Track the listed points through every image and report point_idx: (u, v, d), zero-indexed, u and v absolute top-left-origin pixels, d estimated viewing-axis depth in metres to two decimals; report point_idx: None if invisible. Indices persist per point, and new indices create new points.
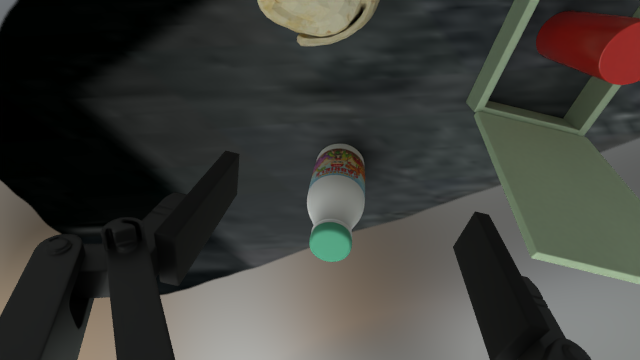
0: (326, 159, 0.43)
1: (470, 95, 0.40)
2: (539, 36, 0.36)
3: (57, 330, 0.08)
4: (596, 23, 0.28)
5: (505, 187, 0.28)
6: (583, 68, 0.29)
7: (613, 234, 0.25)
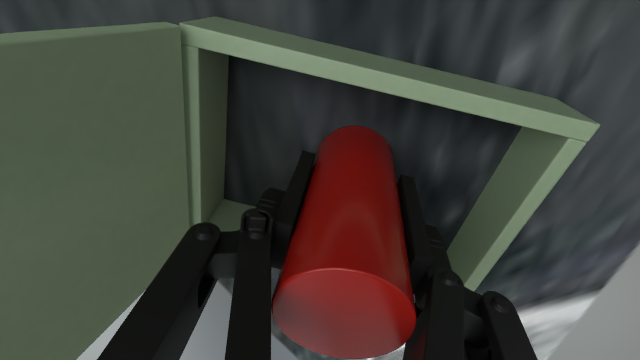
0: None
1: (230, 21, 0.17)
2: (355, 129, 0.19)
3: (185, 306, 0.09)
4: (395, 219, 0.13)
5: None
6: (303, 227, 0.12)
7: None
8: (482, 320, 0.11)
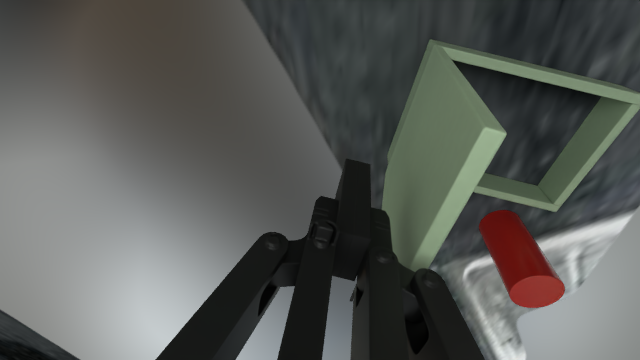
0: None
1: (441, 42, 0.31)
2: None
3: (247, 313, 0.10)
4: None
5: (460, 79, 0.16)
6: (515, 259, 0.34)
7: None
8: (412, 295, 0.12)
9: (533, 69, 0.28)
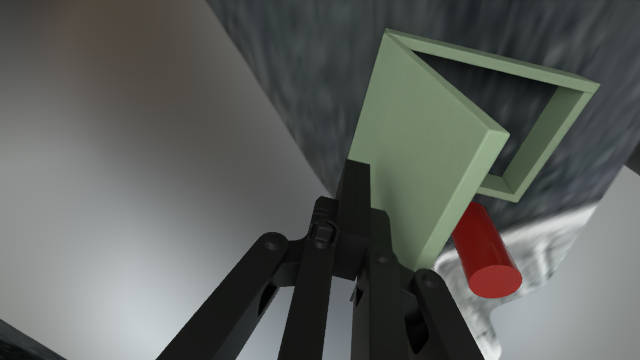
0: None
1: (396, 31, 0.31)
2: None
3: (247, 313, 0.10)
4: (505, 246, 0.35)
5: (432, 72, 0.16)
6: (474, 250, 0.34)
7: None
8: (412, 295, 0.12)
9: (484, 57, 0.28)
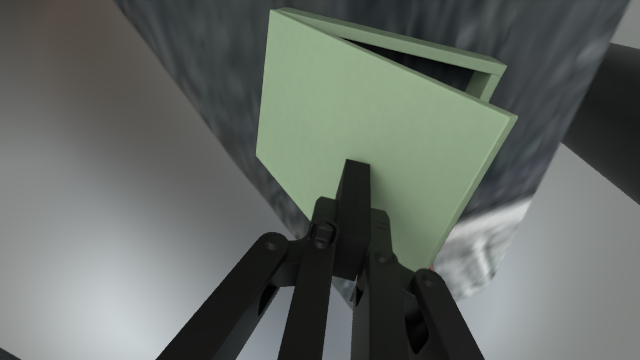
0: None
1: (296, 10, 0.28)
2: None
3: (247, 313, 0.10)
4: None
5: (385, 59, 0.17)
6: None
7: None
8: (412, 295, 0.12)
9: (381, 36, 0.25)
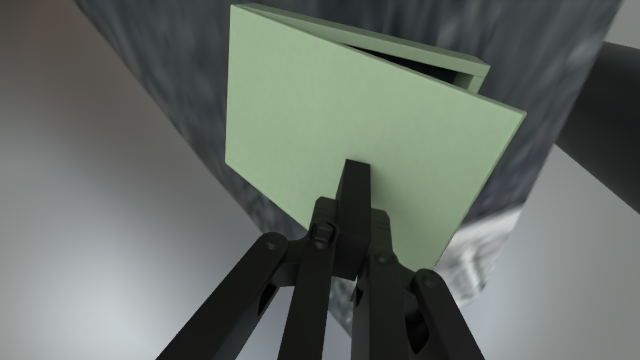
0: None
1: (264, 5, 0.26)
2: None
3: (247, 313, 0.10)
4: None
5: (381, 59, 0.16)
6: None
7: None
8: (412, 295, 0.12)
9: (352, 33, 0.23)
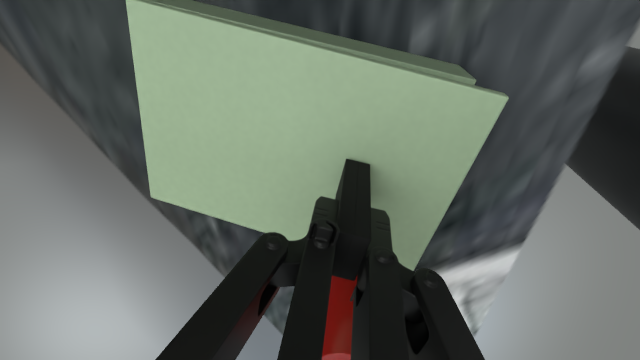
0: None
1: None
2: None
3: (247, 313, 0.10)
4: None
5: (365, 58, 0.16)
6: (327, 321, 0.23)
7: None
8: (412, 295, 0.12)
9: (290, 36, 0.17)
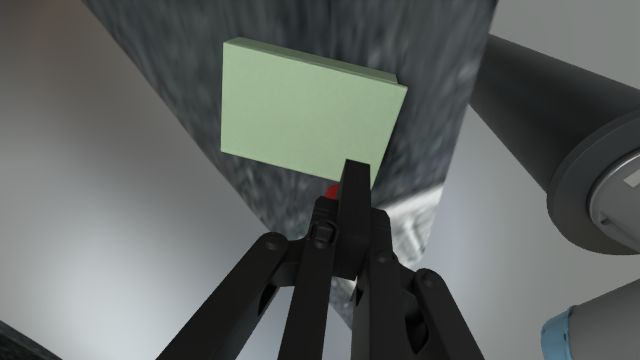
0: None
1: (246, 39, 0.37)
2: None
3: (247, 313, 0.10)
4: None
5: (342, 71, 0.34)
6: None
7: None
8: (412, 295, 0.12)
9: (304, 60, 0.34)
